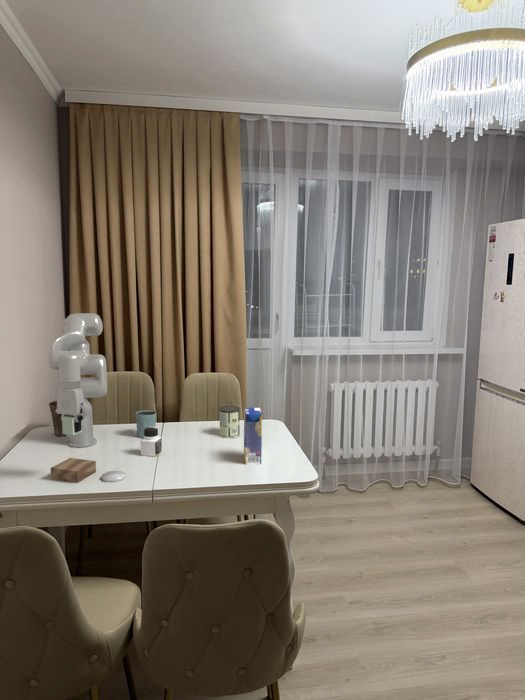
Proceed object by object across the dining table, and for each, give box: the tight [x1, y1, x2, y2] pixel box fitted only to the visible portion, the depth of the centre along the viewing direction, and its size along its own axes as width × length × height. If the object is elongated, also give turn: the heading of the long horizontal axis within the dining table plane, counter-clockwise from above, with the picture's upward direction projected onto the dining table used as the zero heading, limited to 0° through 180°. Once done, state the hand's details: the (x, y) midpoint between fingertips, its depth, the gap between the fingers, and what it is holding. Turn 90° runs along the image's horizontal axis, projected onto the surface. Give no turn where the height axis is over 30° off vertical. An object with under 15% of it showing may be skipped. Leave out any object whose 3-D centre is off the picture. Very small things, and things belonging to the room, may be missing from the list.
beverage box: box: [243, 407, 263, 465], centre depth 223 cm, size 7×11×22 cm, turn 6°
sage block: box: [62, 415, 82, 435], centre depth 201 cm, size 5×5×7 cm
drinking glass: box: [135, 409, 157, 439], centre depth 257 cm, size 10×10×12 cm
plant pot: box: [48, 400, 67, 437], centre depth 259 cm, size 16×16×16 cm
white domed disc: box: [101, 470, 127, 483], centre depth 203 cm, size 9×9×2 cm
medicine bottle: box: [140, 426, 163, 458], centre depth 230 cm, size 7×7×12 cm
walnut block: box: [50, 457, 97, 484], centre depth 204 cm, size 12×12×5 cm
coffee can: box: [219, 405, 241, 439], centre depth 259 cm, size 10×10×14 cm
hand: (72, 430), depth 202 cm, fingers closed on sage block, 5 cm apart
